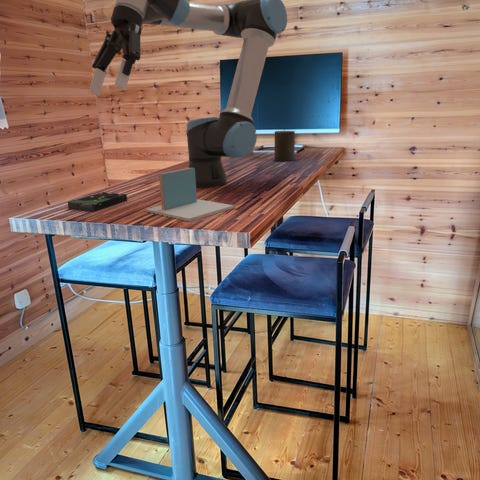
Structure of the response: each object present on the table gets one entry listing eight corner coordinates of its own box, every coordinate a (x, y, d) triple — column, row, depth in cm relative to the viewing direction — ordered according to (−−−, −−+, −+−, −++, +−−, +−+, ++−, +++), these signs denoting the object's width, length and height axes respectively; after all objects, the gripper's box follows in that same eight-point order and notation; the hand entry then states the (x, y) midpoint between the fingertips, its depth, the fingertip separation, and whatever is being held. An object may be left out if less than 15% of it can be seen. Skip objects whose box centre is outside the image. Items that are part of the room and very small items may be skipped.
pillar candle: (284, 162, 208) (284, 129, 204) (270, 160, 216) (270, 128, 211) (298, 160, 214) (299, 128, 210) (284, 158, 221) (284, 127, 217)
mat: (190, 200, 137) (189, 197, 136) (233, 208, 125) (233, 205, 125) (145, 211, 124) (145, 209, 124) (189, 221, 113) (189, 218, 113)
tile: (193, 201, 132) (190, 167, 129) (197, 201, 131) (194, 167, 128) (161, 209, 123) (158, 173, 120) (165, 210, 122) (162, 174, 119)
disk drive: (103, 200, 144) (67, 210, 131) (102, 192, 143) (66, 201, 130) (128, 202, 140) (94, 213, 127) (127, 193, 139) (93, 203, 126)
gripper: (93, 15, 120) (71, 89, 118) (143, -10, 102) (118, 77, 100) (117, 31, 125) (96, 102, 123) (168, 10, 107) (145, 92, 106)
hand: (106, 91), depth 112 cm, fingers open, 13 cm apart
